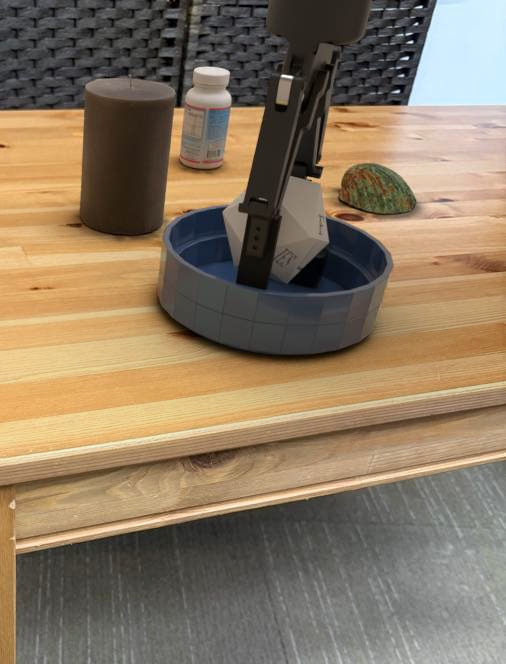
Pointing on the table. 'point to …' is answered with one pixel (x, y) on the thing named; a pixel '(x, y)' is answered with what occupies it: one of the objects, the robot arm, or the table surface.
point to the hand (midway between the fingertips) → (267, 267)
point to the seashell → (376, 189)
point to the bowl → (271, 290)
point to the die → (286, 228)
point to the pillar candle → (125, 154)
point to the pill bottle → (206, 119)
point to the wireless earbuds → (312, 270)
